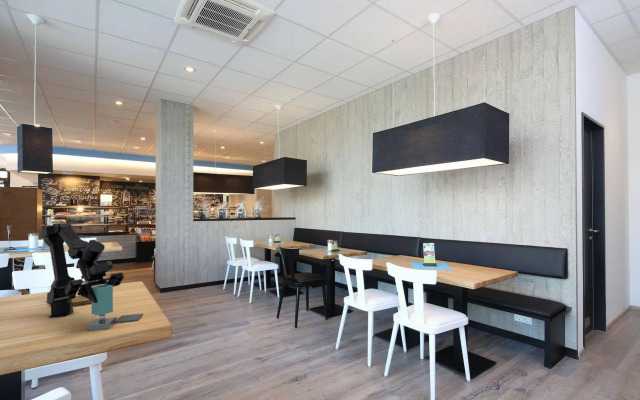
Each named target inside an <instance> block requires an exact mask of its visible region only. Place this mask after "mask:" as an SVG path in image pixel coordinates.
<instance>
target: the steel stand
mask: <svg viewBox="0 0 640 400" xmlns="http://www.w3.org/2000/svg"><path fill="white" fill-rule="evenodd" d="M116 320H117V317H106V314H103V315H100V316H98V318H97V319H96V318H95V319H94V320H93V321H91V322H90V323H89V324H87V331H88V332H90V331H99V330H108V329H111V328H112V327H113V326H114V325H115V324H116V323H115V321H116Z"/></svg>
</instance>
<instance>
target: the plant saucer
mask: <svg viewBox="0 0 640 400" xmlns="http://www.w3.org/2000/svg"><path fill="white" fill-rule="evenodd" d="M72 302H73V307H74V306H75V307H77V306H84V305H90V304H92V301H91V300H89V299H87V298H85V297H83V296H81V295H76V297H75V298H74V299H72Z"/></svg>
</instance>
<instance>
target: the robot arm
mask: <svg viewBox="0 0 640 400" xmlns="http://www.w3.org/2000/svg"><path fill="white" fill-rule="evenodd" d="M40 235H41V238H42V239H43V242H44V243H45V245H47V246H48V247H49V251H50V258H51V265H52V271H53V276H54V277H53V279H54V280H53V281H52V283H51V284H50V290H49V294H48V296H47V295H46V300H47V301H46V302H47V303H49V304H50V303H51V306H50V315H48V318H55V317H56V318H58V317H59V318H60V317H66V316H68V315H70V314H72V313H74V306H73V302H72V299H74V298H75V297H76V296H80V295H81V296H83V297H85V298H87V299H89V300H91V301H92V302H94V303H97V298H96V296H95V294H94V292H93V290H92V287H95V286H100V285H112V286H113V288H115V287H119V286H120V285H121V283H122V282H123V280H124V278H125V275H124V273H123V272H121V271H120V272H113V273H111V274H110V275H109V277H106V275H107V272H110V271H112V269H114V264H113V263H112V261H111V260H109V261H106V262H101V263H97V261H99V259H100V257H102V256H101V255H102V254H103V252H104V250H105V245H104V244H103V243H102V242H99V241H97V239H89V241H87V240H83V239H81V238H80V236H79V235H78V234H77V233H76V231H75V230H74V228H73V227H72V224H71V223H68V222H67V223H57V224H54V225H50V226H45V227H44V228H43V229H41V232H40ZM64 244H66V246H67V247H68V250H67V253H68V257H69V258H70V259H71V260H77V261H76V266H75V268H76V269H79V271H80V273H81V276H80V278H79V279H78V278H77V279H75V278H74V277H73V276H70V275H69V271H68V264H67V257H66V253H65V247H64ZM104 277H106V278H104ZM54 298H55V299H54Z"/></svg>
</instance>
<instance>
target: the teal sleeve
mask: <svg viewBox="0 0 640 400" xmlns="http://www.w3.org/2000/svg"><path fill="white" fill-rule="evenodd" d="M92 290H93V292H94V294H95V296H96V298H97V303H94V302H92V303H91V314H92V315H95V316H97V317H99V316H100V315H103V314H105V315H107V314H110V313H111V314H112V313H113V312H114V287H113V286H112V285H104V284H103V285H97V286H92Z"/></svg>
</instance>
